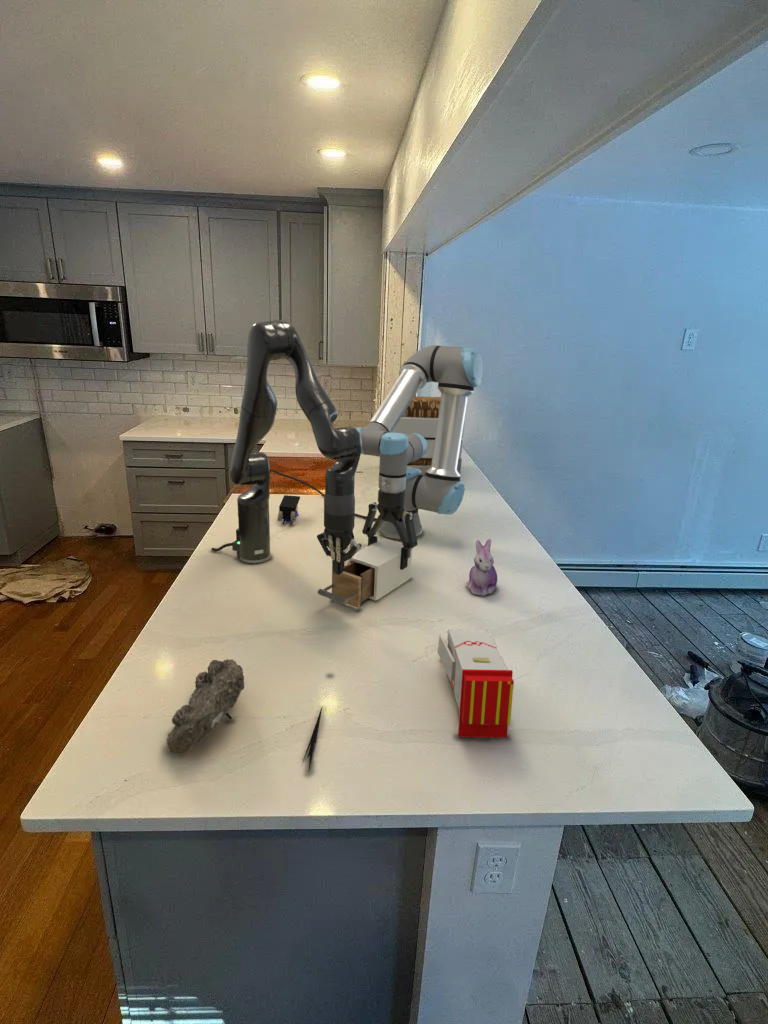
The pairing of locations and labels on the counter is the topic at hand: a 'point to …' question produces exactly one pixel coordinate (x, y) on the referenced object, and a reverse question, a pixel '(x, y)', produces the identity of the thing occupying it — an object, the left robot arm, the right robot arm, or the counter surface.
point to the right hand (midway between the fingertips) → (388, 562)
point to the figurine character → (288, 509)
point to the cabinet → (384, 565)
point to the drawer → (351, 585)
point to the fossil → (206, 705)
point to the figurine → (483, 571)
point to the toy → (478, 682)
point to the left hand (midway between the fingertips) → (338, 573)
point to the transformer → (423, 426)
